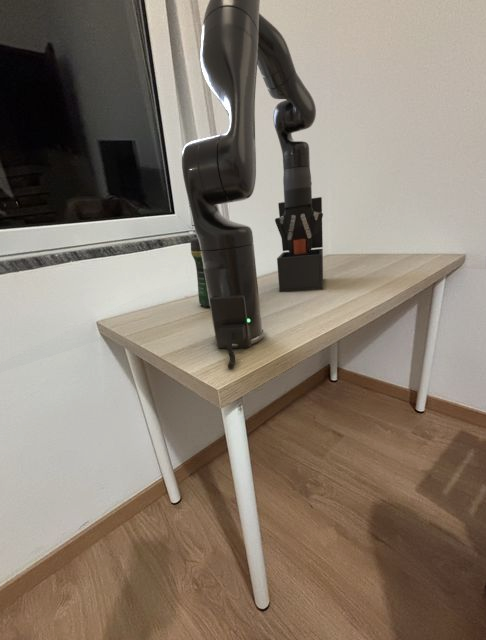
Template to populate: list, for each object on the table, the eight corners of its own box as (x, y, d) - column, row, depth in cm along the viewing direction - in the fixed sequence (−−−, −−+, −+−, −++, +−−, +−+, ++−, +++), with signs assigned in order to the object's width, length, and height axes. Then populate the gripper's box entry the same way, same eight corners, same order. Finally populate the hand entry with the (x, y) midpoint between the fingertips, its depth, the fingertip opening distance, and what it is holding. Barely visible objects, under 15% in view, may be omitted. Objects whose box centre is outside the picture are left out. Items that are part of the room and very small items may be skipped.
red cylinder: (307, 253, 89) (306, 238, 87) (292, 254, 90) (291, 240, 88) (307, 251, 92) (307, 237, 91) (293, 252, 94) (293, 239, 92)
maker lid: (321, 197, 88) (321, 194, 92) (278, 203, 92) (280, 200, 96) (322, 247, 96) (322, 242, 100) (282, 251, 100) (284, 246, 104)
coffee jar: (209, 309, 83) (197, 237, 75) (196, 305, 89) (183, 237, 82) (238, 301, 88) (230, 232, 80) (224, 297, 94) (215, 233, 86)
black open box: (322, 289, 89) (322, 254, 85) (279, 291, 92) (276, 258, 88) (323, 279, 101) (322, 248, 97) (284, 282, 104) (282, 252, 100)
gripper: (269, 191, 83) (274, 256, 90) (324, 183, 79) (325, 251, 86) (273, 192, 89) (278, 253, 96) (324, 184, 86) (325, 248, 92)
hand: (300, 252), depth 91 cm, fingers closed on red cylinder, 4 cm apart
